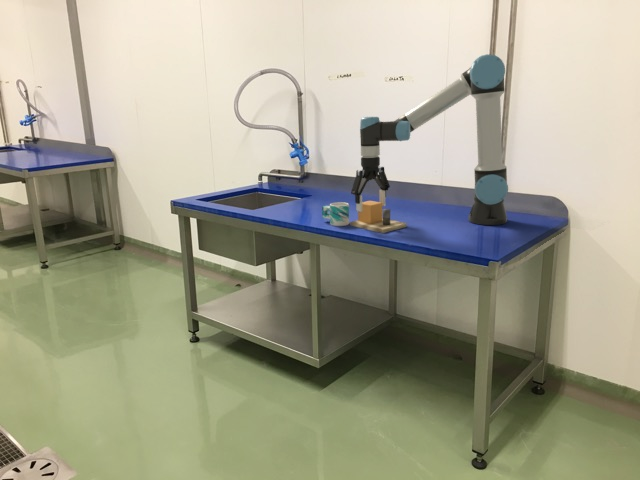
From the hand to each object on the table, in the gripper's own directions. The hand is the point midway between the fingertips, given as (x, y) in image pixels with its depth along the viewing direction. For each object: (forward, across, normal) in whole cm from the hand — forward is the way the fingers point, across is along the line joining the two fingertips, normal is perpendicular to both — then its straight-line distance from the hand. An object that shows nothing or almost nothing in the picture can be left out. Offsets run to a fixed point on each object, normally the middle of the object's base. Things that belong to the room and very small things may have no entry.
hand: (371, 208), depth 219 cm
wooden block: (+5, 0, 0) cm, 5 cm away
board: (+7, 0, +4) cm, 8 cm away
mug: (+7, +8, -13) cm, 17 cm away
